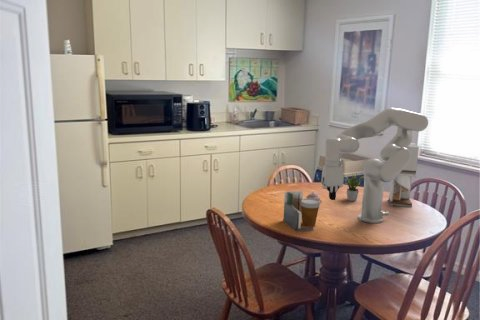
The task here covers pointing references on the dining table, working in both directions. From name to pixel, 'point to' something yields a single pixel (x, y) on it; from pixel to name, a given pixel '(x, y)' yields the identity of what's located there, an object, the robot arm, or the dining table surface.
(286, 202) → the gauge frame
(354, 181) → the house plant
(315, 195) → the cupcake
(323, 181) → the robot arm
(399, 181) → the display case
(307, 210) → the disposable coffee cup
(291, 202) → the pale grey flat panel
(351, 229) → the dining table surface
